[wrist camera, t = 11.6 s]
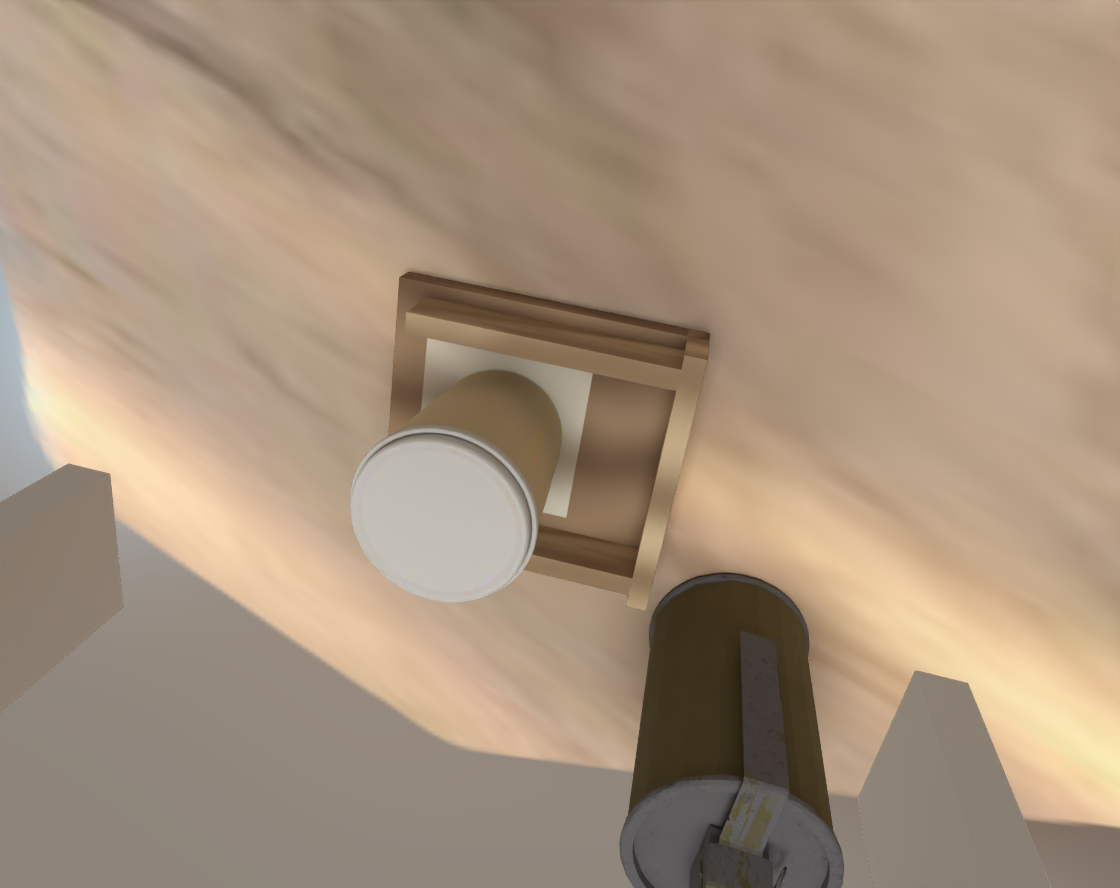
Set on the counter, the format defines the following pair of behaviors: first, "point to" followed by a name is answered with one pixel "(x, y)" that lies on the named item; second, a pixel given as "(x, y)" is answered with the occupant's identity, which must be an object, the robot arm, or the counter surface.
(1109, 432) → the counter surface
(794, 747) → the canister
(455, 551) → the coffee cup
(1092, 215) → the counter surface
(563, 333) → the dock
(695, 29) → the counter surface
